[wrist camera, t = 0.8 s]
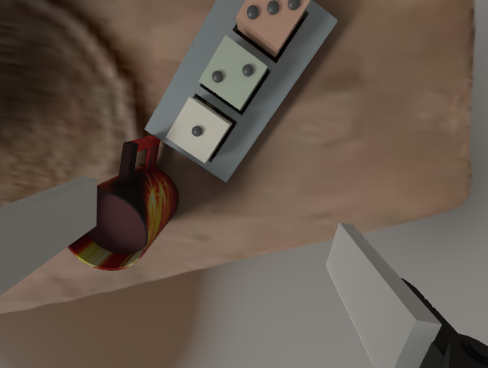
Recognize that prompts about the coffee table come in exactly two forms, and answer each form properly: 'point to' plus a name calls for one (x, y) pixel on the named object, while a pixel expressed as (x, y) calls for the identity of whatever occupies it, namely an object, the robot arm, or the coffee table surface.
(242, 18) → the key three
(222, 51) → the key two
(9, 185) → the coffee table surface
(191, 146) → the key one
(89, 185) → the robot arm
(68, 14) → the coffee table surface
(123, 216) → the mug
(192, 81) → the keypad board
